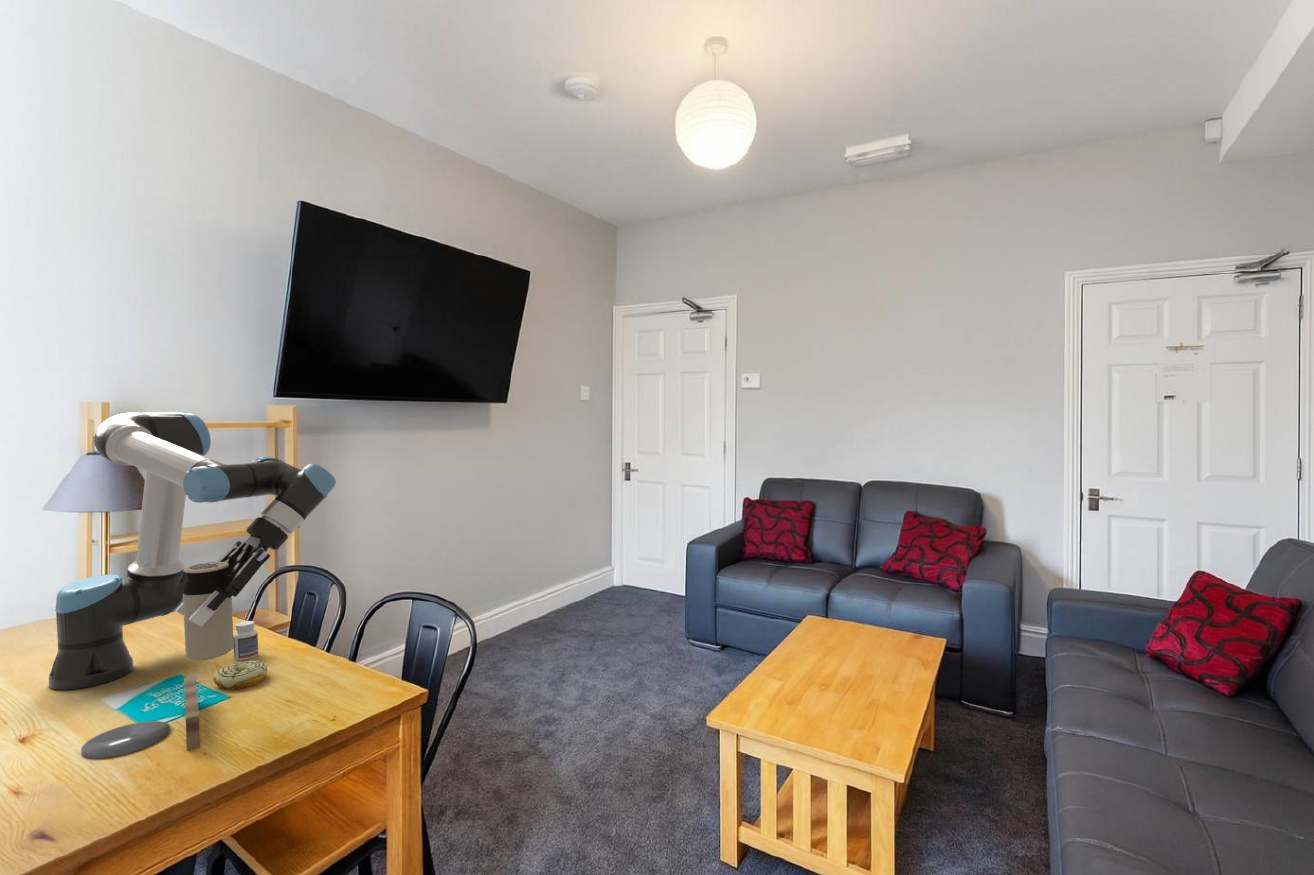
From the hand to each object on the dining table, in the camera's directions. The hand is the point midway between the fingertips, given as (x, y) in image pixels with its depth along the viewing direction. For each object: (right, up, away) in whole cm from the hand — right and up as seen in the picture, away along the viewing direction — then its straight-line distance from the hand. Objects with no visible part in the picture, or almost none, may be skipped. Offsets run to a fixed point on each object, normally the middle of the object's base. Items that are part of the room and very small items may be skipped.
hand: (188, 618), depth 124 cm
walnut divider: (-1, -22, +2) cm, 22 cm away
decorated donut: (-5, -22, +23) cm, 32 cm away
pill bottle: (-14, -21, +39) cm, 46 cm away
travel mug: (+2, -8, +3) cm, 9 cm away
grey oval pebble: (-9, -22, -4) cm, 24 cm away
